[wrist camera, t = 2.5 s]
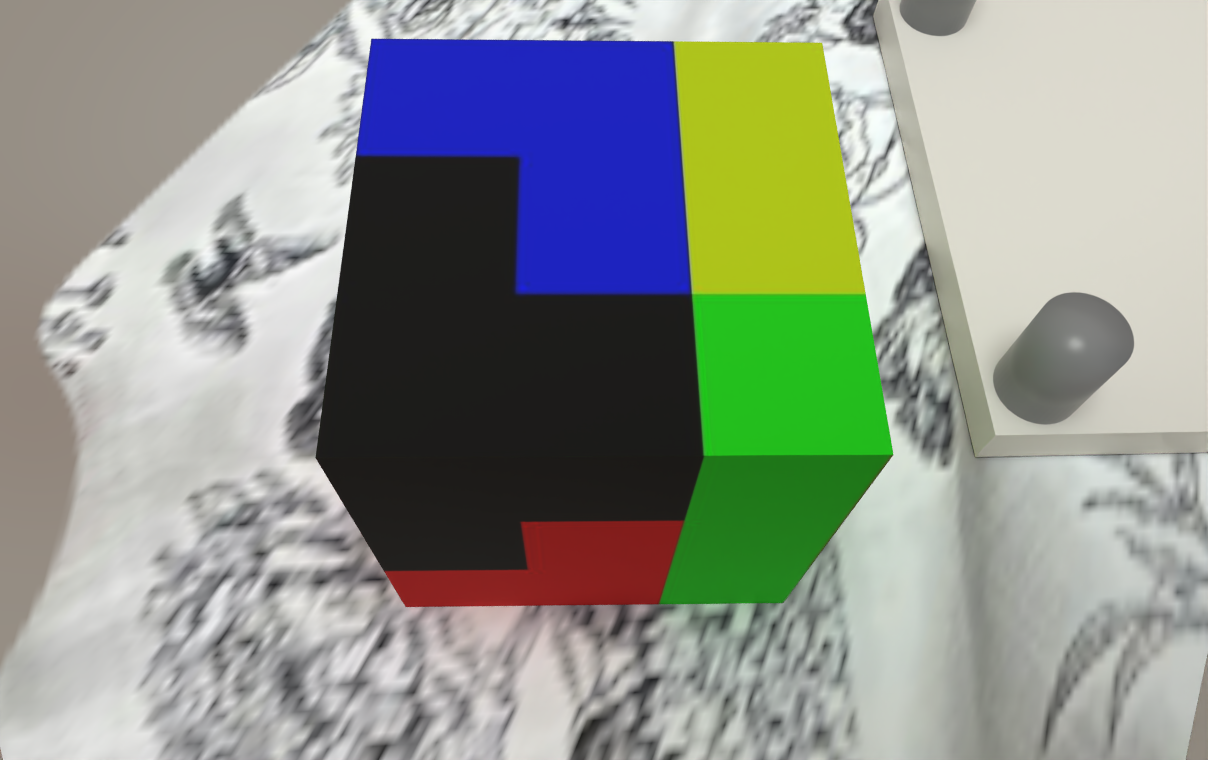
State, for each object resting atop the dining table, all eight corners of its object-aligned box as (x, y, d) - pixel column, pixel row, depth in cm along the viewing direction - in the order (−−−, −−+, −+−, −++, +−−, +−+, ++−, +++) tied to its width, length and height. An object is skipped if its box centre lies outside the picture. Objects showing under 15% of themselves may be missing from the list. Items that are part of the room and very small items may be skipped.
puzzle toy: (431, 289, 30) (371, 38, 21) (749, 289, 30) (822, 42, 21) (406, 607, 25) (315, 457, 16) (782, 603, 26) (893, 454, 17)
